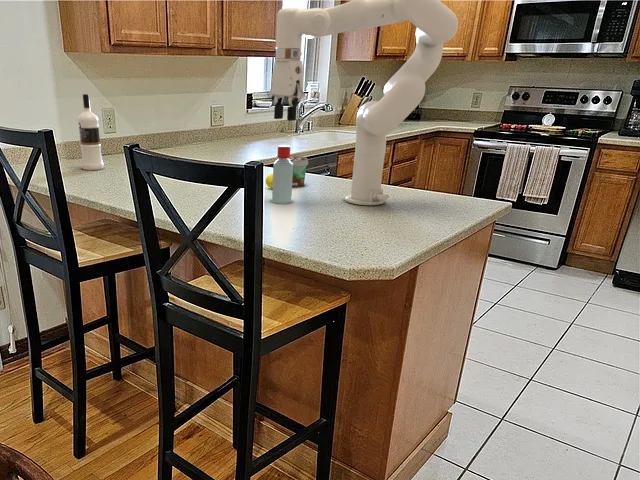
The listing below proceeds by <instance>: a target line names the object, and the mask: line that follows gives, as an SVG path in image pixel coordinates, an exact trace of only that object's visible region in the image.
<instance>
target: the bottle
mask: <svg viewBox="0 0 640 480" xmlns="http://www.w3.org/2000/svg"><path fill="white" fill-rule="evenodd" d="M277 158H278V157H277ZM290 160H291V159H290V158H278V159H277V160H275V162H274V163H273V164H272V165H273V166H272V174H273V189H272V188H271V189H272V191H271V192H272V193H271V203H274V204H283V205H284V204H285V205H286V204H291V203H292V195H293V187H292V178H293V163H291V161H290Z"/></svg>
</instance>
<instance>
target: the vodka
mask: <svg viewBox="0 0 640 480" xmlns="http://www.w3.org/2000/svg"><path fill="white" fill-rule="evenodd" d="M82 102H83V103H82V104H83V111H82V112H81V113H80V114H79V115H78V117H77V122H78V123H77V124H78V130H79V131H78V132H79V140H80V145H79V146H80V150H81V163H80V164H81V168H82V169H83V170H84V171H99V170H102V169H104V167H105V165H104V161H103V155H102V148H101V146H102V144H101V138H100V124H99V117H98V116H97V114H95V113H94V112H92V111H91V101H90V94H87V93H83V94H82Z"/></svg>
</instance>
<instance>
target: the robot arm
mask: <svg viewBox="0 0 640 480" xmlns="http://www.w3.org/2000/svg"><path fill="white" fill-rule="evenodd" d="M406 21H409V22H410V23H411V24H412V25H413V26H415V27H416V29H415V37H416V45H415V49H414V51H413V53H412V54H411V55H410V57H409V58H408V59H407V60H406V61H405V62H404V64H403V65H402V66H401V67H400V68H399V69H398V70H397V71H396V72H395V73H394V74H393V75H392V76H391V77H390V78H389V79H388V81H387V82H386V84H385V85H384V87H383V88H384V89H383V97H381V98H380V100H370V101H367V102H365V103H364V104H363V105H362V106H360V107H359V109H358V112H357V114H356V119H355V148H354V158H353V167H352V179H351V187H350V188H351V189H350V194H347V195H346V196H345V201H346V202H347V203H350V204H354V205H358V206H379V205H382V204H384V203H385V202H387V200H388V199H389V197H390V196H389V194H385V193H384V189H383V188H382V181H383V174H384V173H383V172H384V165H385V156H386V150H387V135H389V134H392V132H393V131H395V130H396V129H397V128H398V127H399V126H400V125H401V124H402V123H403V122H404V121H405V120H406V118H408V117H409V115H410V114H411V113H412V112H413V111H414V110H415V109H416V108H417V107H418V106H419V105H420V103H421V102H422V100H423V99H424V96H425V94H426V82H427V81H428V80H429V78H430V77H432V75H433V74H434V73H435V71H436V70H437V69H438V67H439V65H440V63H441V62H442V61H441V60H442V57H443V52H444V44H445V43H448V42H449V41H451V40H452V39H453V38H454V37H455V36H456V34H457V31H458V29H459V20H458V17H457V15H456V14H455V12H454V11H452V9H451V8H449V7H448V6H447V5H445V4H444V3H443V2H442V1H441V0H350V1H348V2H347V1H346V2H344V3H342V4H338V5H334V6H331V7H325V8H321V7H312V8H304V9H303V8H302V9H299V8H294V7H293V8H291V7H290V8H289V7H287V8H286V7H285V8H281V9H279V10H278V11H277V14H276V35H275V57H274V58H275V59H274V63H273V69H272V74H271V75H272V76H271V88H270V90H269V92H268V95H269V96H270V98H271V100H272V102H273V103H272V105H273V106H274V110H273V111H274V113H273V119H274V120H283V118H284V104H283V102H284V99H285V97H287V99H288V106H287V114H286V115H287V116H286V117H287V118H286V120H287V121H289V122H290V121H292V122H293V121H296V120H297V109H298V107H299V104H300V102H301V101H302V100H303V99H304V97H305V93H304V66H303V65H304V64H303V60H301V57H302V54H303V53H302V38H303V36H304V37H305V38H307V39H317V38H322V37H327V36H330V35H336V34H337V35H338V34H342V33H349V32H359V31H363V30H369V29H373V28H378V27H382V26H383V27H384V26H388V25H392V24H397V23H403V22H406Z"/></svg>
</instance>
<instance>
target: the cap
mask: <svg viewBox="0 0 640 480" xmlns="http://www.w3.org/2000/svg"><path fill="white" fill-rule="evenodd" d="M277 158H289V159H290V158H291V145H287V144H280V145H277Z"/></svg>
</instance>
